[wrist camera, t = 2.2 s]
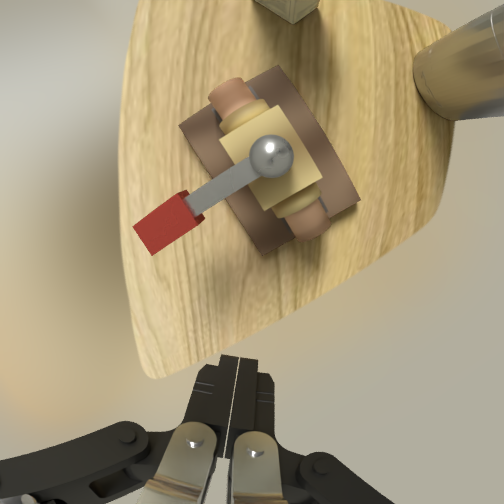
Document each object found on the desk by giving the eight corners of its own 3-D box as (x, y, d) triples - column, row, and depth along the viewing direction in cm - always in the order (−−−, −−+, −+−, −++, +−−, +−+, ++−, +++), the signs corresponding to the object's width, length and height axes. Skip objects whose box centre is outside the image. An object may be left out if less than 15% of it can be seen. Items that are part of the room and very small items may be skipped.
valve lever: (277, 130, 17) (278, 126, 15) (298, 163, 17) (302, 164, 15) (144, 219, 19) (131, 225, 17) (163, 248, 20) (152, 257, 18)
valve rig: (183, 127, 25) (149, 115, 17) (278, 69, 22) (280, 35, 14) (262, 251, 28) (259, 285, 20) (356, 198, 26) (388, 213, 18)
